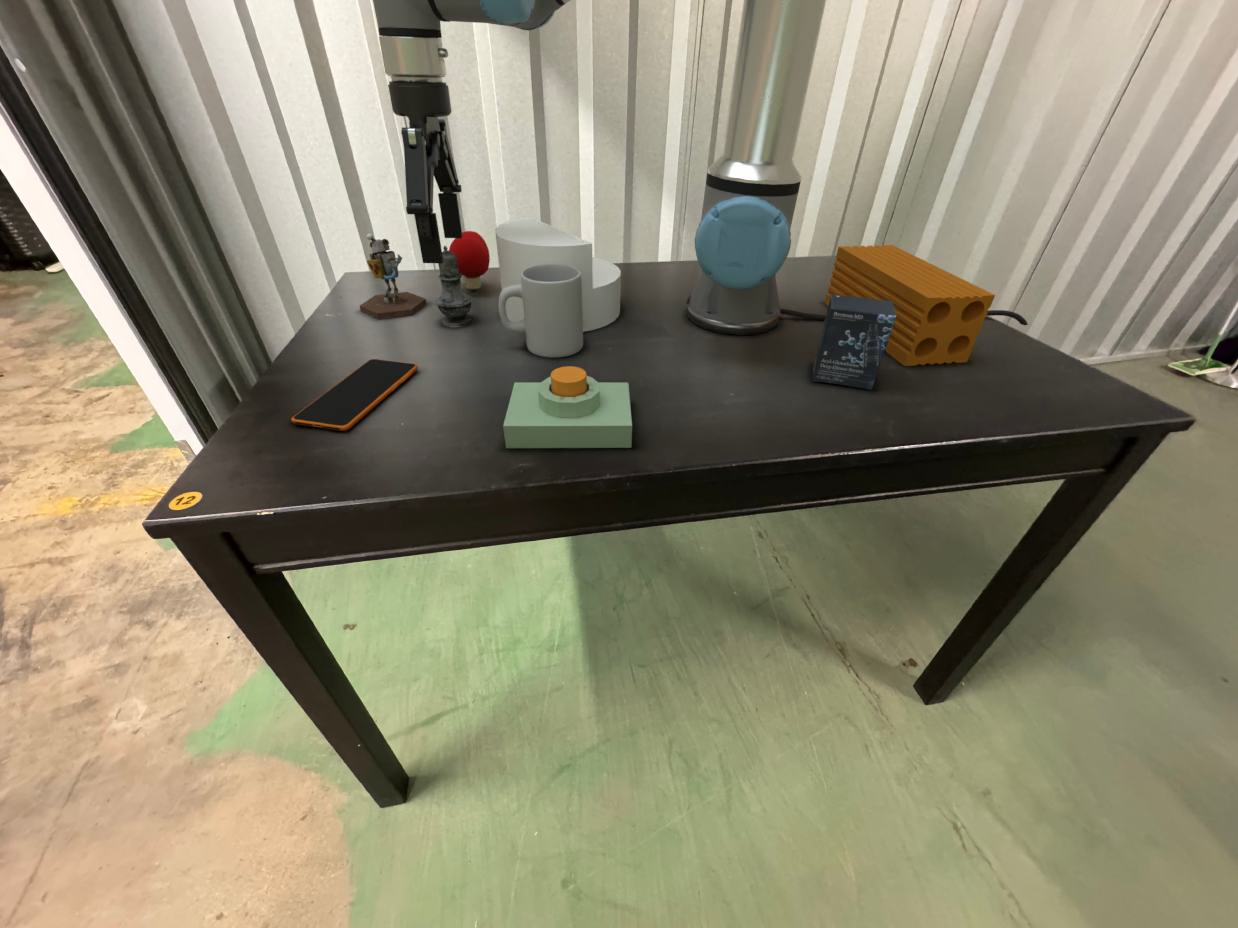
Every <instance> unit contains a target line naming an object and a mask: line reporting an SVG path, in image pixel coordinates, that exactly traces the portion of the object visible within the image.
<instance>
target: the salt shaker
mask: <svg viewBox="0 0 1238 928" xmlns="http://www.w3.org/2000/svg"><path fill="white" fill-rule="evenodd" d="M442 249H443V251H442V256H443V263H437V264H438V270H439V275H438V276H437V277H438V278H437V279H439V280H440V282H441V283H440V284H441V291H442V292H441V296H439V297H437V298H436V299H435V301H434V303H435V305H436V306H437V308H438V310H439V311H440V313H441V314H442V315H444V317H443V318H442V319H441V320H440V324H441V326H443V327H446V328H453V329H454V328H463V327H467V326H470V325H472V324H473V323H474V321H475V318H474V317H473V316H471V315H469V313H470V311H471V309H472V302H473V299H474V298H473V297H472V296H471V295H469V294H465V292H464V290H463V286H462V281H461V278H462V277H463V275H461V274H460V273H459V270H458V264H457V257H456V255H455V254H454V253H452V252H449V248H448V247H447V246H446V245H443V248H442Z"/></svg>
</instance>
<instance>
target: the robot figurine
mask: <svg viewBox="0 0 1238 928" xmlns="http://www.w3.org/2000/svg"><path fill="white" fill-rule="evenodd" d="M366 239H367V240H368V241H370V242H369V247H370V248H371V252H372V253H370V254H369V258H370V259H368V260H366V263H367V265H368V266H369V269H370V271H371V272H372V276H373V277H374V278H375V279H381V280H384V283H385V284H386V286H387V288H386V291H385V292H384V293H383V294H375V295H373V296H372V297H370V298H368V299H367V300H366V301H364V302H362V303H361V304H360V305H359V309H360V312H361V313H364V314H367V315H368V316H371V317H373V318H375V319H377V320H382V319H393V318H401V317H408V316H414V315H415V314H416V313H417V312H418V311H420V310H421V309H423V308H424V307H425V306H426V305H427V300H426V298H425V297H422V296H419V295H417V294H414V293H411V292H409V291H401V292H399V288H398V287H397V284H396V279H397V278H398V277H399V265H400V264H401V263H402V260H403V257H402V256H401V255H400V254H398V253H397V254H395V251H394V250H391V248H390V245H389V244H390V240H388V239H386V238H382V239H380V238H379V239H375V237H374V235H373V234H372V233H367V234H366ZM396 256H397V257H396ZM390 282H391V283H392V284H393V289H392V287H391V285H390ZM392 290H393V292H392ZM391 292H392V293H391Z"/></svg>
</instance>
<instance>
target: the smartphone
mask: <svg viewBox="0 0 1238 928" xmlns="http://www.w3.org/2000/svg"><path fill="white" fill-rule="evenodd" d="M418 369H419V366H418V364H416V363H411V362H403V361H395V360H384V359H379V358H377V359H376V358H372V359H368V360H367V361H366V362H364V363H363V364H362V365H360V366H359V367H358V368H356V369H355V370H353V371H352V372H351V373H350V374H348V375H347V376H346V377H344V378H342V379H341V380H340V381H339V382H338V383H336V384H335V385H333V386H332V387H331V388H330V389H328V390H327V391H325V392H324V393H323V394H322V395H320V396H319V397H318V398H316V399H315V400H313V401H312V402H311V403H309V404H308V405H307V406H305V407H304V408H303V409H302V410H300V411H299V412H298V413H296V414H294V416H292V417H291V419H290V420H291V422H292V424H295V425H298V426H299V425H301V426H307V427H315V428H321V429H328V430H335V431H348V430H350V429H351V428H352V427H353V426H355V425H356V424H357V423H358V422H359V421H360V420H361V419H363V418H364V417H365V416H366V415H367V414H369V412H370V411H372V410H373V409H374V408H375V407H376V406H378V405H379V404H380V403H381V402H382V401H383V400H384V399H386V397H388V396H389V395H390V394H391V393H392V392H394V391H395V390H396V389H397V388H398V387H399V386H400V385H402V384H403V383H404V382H406V380H407V379H409V377H411V376H412V375H413V374H414V373H415V372H416V371H417V370H418Z"/></svg>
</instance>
